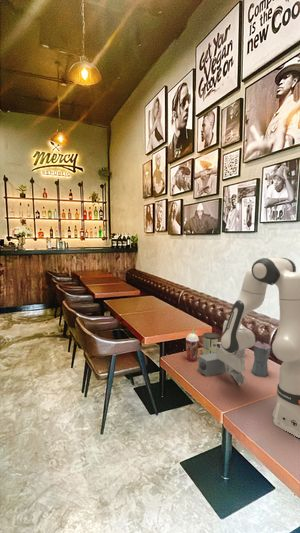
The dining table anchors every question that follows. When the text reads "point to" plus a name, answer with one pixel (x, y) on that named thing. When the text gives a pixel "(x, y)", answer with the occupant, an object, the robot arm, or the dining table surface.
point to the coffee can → (209, 343)
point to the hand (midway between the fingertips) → (228, 372)
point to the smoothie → (192, 346)
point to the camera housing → (210, 365)
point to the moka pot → (261, 358)
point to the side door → (238, 377)
